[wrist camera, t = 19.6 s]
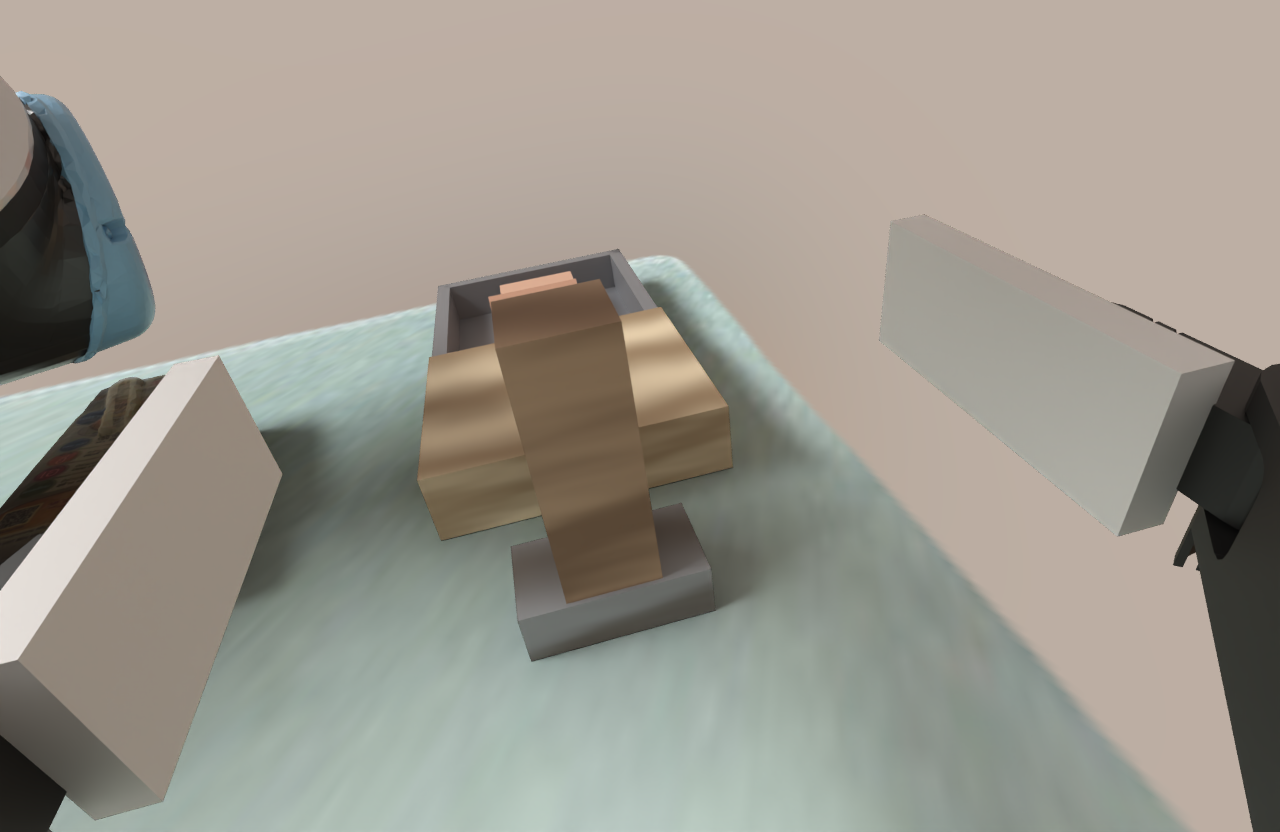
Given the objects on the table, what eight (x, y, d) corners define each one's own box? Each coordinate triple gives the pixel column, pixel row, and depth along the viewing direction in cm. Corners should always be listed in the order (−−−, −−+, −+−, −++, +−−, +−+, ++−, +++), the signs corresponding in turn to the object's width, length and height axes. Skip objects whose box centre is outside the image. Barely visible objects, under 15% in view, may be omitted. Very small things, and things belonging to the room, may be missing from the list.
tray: (666, 356, 48) (660, 311, 46) (446, 405, 46) (431, 362, 45) (624, 285, 61) (618, 248, 59) (449, 323, 59) (438, 286, 57)
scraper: (715, 610, 28) (684, 310, 21) (531, 661, 27) (429, 366, 20) (686, 542, 32) (651, 265, 25) (523, 585, 31) (434, 311, 24)
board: (732, 467, 36) (728, 405, 34) (440, 540, 35) (417, 480, 32) (667, 357, 48) (660, 306, 46) (446, 407, 46) (429, 357, 44)
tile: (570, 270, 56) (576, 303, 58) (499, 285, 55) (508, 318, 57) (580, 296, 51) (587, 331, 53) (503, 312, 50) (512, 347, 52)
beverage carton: (264, 429, 48) (221, 348, 44) (204, 628, 32) (129, 527, 28) (144, 461, 46) (89, 379, 43) (18, 687, 30) (-86, 587, 27)
